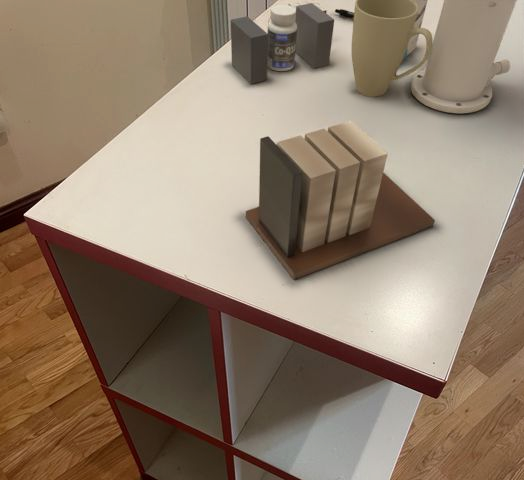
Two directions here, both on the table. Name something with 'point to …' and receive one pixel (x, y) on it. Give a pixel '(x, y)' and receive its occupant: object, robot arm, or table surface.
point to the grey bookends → (256, 42)
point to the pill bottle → (282, 38)
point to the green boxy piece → (307, 3)
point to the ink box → (416, 25)
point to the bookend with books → (329, 199)
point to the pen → (345, 13)
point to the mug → (383, 42)
